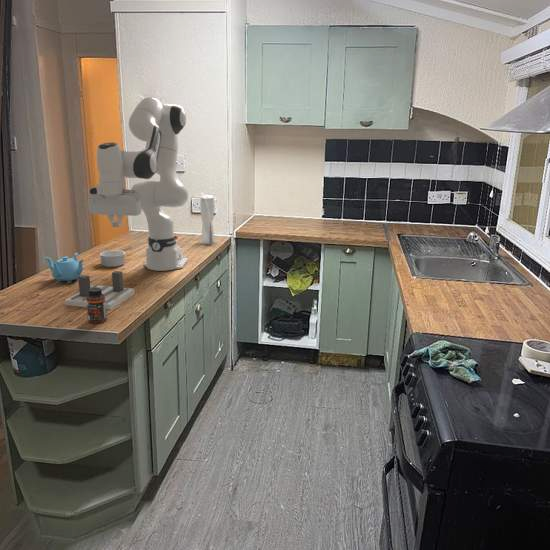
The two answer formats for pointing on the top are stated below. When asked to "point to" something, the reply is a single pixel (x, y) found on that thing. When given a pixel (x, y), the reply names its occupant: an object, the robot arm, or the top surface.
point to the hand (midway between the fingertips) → (116, 226)
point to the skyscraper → (207, 219)
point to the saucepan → (113, 257)
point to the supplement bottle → (96, 306)
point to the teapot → (66, 268)
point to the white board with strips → (110, 297)
